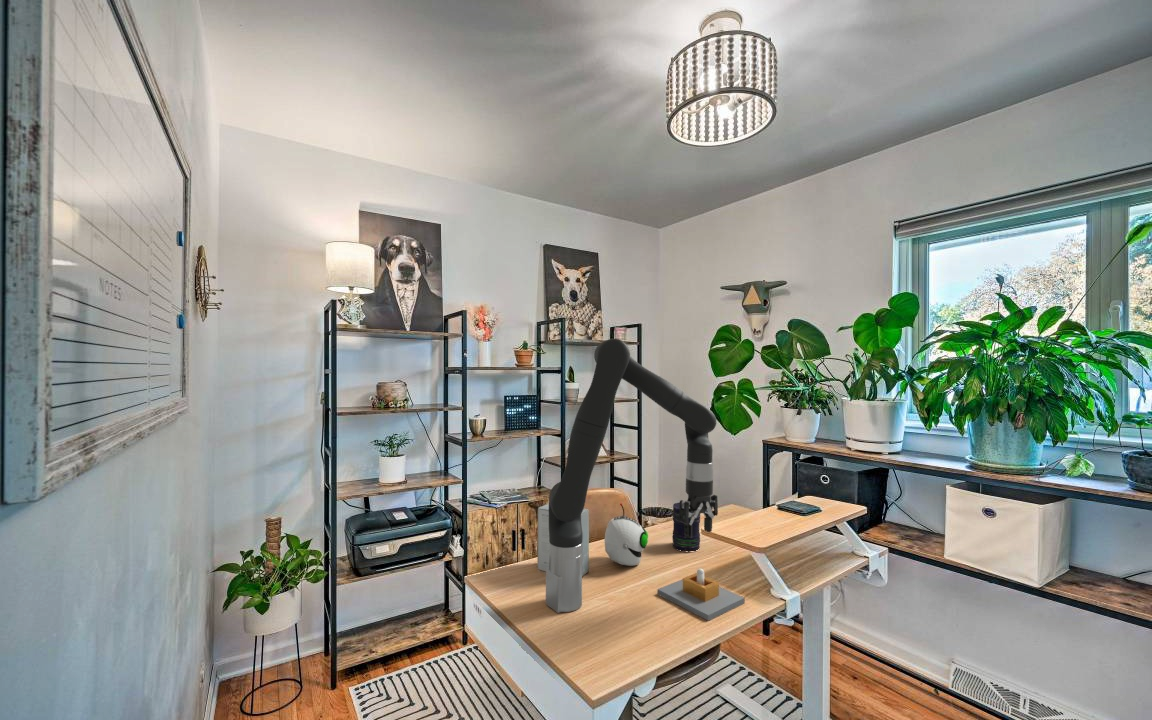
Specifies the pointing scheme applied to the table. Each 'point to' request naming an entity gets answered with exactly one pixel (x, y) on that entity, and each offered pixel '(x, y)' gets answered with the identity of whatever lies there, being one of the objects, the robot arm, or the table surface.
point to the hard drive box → (544, 539)
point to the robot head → (625, 540)
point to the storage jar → (678, 532)
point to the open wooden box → (701, 588)
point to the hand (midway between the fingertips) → (698, 534)
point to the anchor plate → (697, 606)
